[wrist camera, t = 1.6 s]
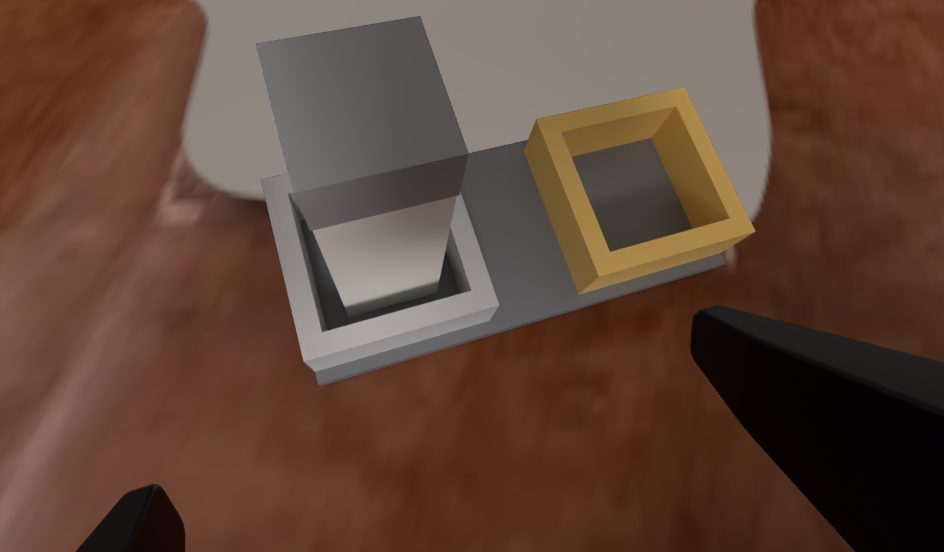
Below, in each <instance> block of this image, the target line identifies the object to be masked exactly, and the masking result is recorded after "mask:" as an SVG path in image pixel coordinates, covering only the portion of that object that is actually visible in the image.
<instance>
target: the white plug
mask: <svg viewBox="0 0 944 552" xmlns="http://www.w3.org/2000/svg"><path fill="white" fill-rule="evenodd" d="M256 46H257V50H258V54H259V58H260V62H261V66H262V70H263V74H264V78H265V81H266V85H267V90H268V94H269V98H270V102H271V105H272V110H273V113H274V117H275V121H276V125H277V129H278V133H279V137H280V141H281V145H282V149H283V153H284V157H285V161H286V165H287V169H288V173H289V177H290V181H291V185H292V189H293V193H294V195H295V198H296V200H297V202H298V205H299V207H300V209H301V212H302V214H303V216H304V218H305V221H306V223H307V225H308V228H309V230H310V231H313V233H314V236H315V238H316V240H317V243H318V245H319V247H320V250H321V252H322V255H323V257H324V259H325V262H326V264H327V266H328V269H329V271H330V274H331V276H332V278H333V281H334V283H335V285H336V288H337V290H338V293H339V295H340V297H341V300H342V302H343V304H344V307H345V309H346V312H347V314H348V316H349V317H351V316H355V315H359V314H362V313H366V312H370V311H373V310H377V309H380V308H384V307H388V306H391V305H395V304H399V303H402V302H406V301H409V300H413V299H417V298H420V297H424V296H427V295H431V294H435V293H437V289H438V284H439V279H440V275H441V270H442V265H443V260H444V255H445V250H446V245H447V240H448V236H449V231H450V226H451V221H452V216H453V211H454V206H455V201H456V197H457V196H458V195H460V191H461V186H462V182H463V177H464V172H465V168H466V163H467V159H468V154H469V153H468V151H467V148H466V145H465V142H464V139H463V136H462V134H461V131H460V128H459V125H458V122H457V119H456V117H455V114H454V111H453V108H452V105H451V103H450V100H449V97H448V94H447V92H446V88H445V85H444V83H443V80H442V77H441V74H440V71H439V69H438V66H437V63H436V60H435V57H434V55H433V52H432V49H431V46H430V43H429V40H428V38H427V35H426V32H425V29H424V26H423V23H422V20H421V18H420V16H418V17H412V18H406V19H400V20H394V21H388V22H382V23H376V24H370V25H364V26H358V27H352V28H346V29H341V30H334V31H329V32H322V33H317V34H311V35H305V36H299V37H293V38H287V39H281V40H275V41H269V42H263V43H257V44H256Z"/></svg>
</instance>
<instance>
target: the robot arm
mask: <svg viewBox="0 0 944 552" xmlns="http://www.w3.org/2000/svg"><path fill="white" fill-rule="evenodd" d="M690 349H691V354H692V357H693V359H694V361H695V362H696V364H697V365H698V366H699V368H700V369H701V370H702V372H703V373H704V374H705V376H706V377H707V379H708V380H709V381H710V383H711V384H712V385H713V387H714V388H715V389H716V391H717V392H718V394H719V395H720V396H721V398H722V399H723V400H724V402H725V403H726V404H727V406H728V407H729V409H730V410H731V411H732V413H733V414H734V415H735V417H736V418H737V419H738V421H739V422H740V423H741V424H742V426H743V427H744V428H745V429H746V430H747V432H748V433H749V434H750V435H751V436H752V438H753V439H754V440H755V441H756V442H757V443H758V444H759V445H760V446H761V448H762V449H763V450H764V451H765V452H766V453H767V454H768V455H769V456H770V458H771V459H772V460H773V461H774V462H775V463H776V464H777V465H778V466H779V468H780V469H781V470H782V471H783V472H784V473H785V474H786V475H787V477H788V478H789V479H790V480H791V481H792V482H793V483H794V484H795V485H796V487H797V488H798V489H799V490H800V491H801V492H802V493H803V494H804V495H805V497H806V498H807V499H808V500H809V501H810V502H811V503H812V504H813V505H814V507H815V508H816V509H817V510H818V511H819V512H820V513H821V514H822V515H823V517H824V518H825V519H826V520H827V521H828V522H829V523H830V524H831V525H832V527H833V528H834V529H835V530H836V531H837V532H838V533H839V534H840V535H841V537H842V538H843V539H844V540H845V541H846V542H847V543H848V544H849V545H850V547H851V548H852V549H853V550H854V551H855V552H944V363H943V362H939V361H935V360H931V359H928V358H924V357H920V356H916V355H912V354H908V353H904V352H900V351H896V350H892V349H888V348H884V347H881V346H877V345H873V344H869V343H865V342H861V341H857V340H853V339H849V338H845V337H841V336H837V335H834V334H830V333H826V332H822V331H818V330H814V329H810V328H806V327H802V326H798V325H795V324H791V323H787V322H783V321H779V320H775V319H771V318H767V317H763V316H759V315H755V314H752V313H748V312H744V311H740V310H736V309H732V308H728V307H724V306H720V305H713V306H709V307H706V308H703V309H700V310H698V311H696V312H695V313H694V315H693V319H692V331H691V344H690ZM76 552H185V529H184V524H183V521H182V519H181V517H180V515H179V514H178V512H177V510H176V509H175V507H174V505H173V504H172V502H171V501H170V499H169V497H168V496H167V494H166V493H165V491H164V489H163V488H162V487H161V486H159V485H157V484H151V485H148V486H145V487H142V488H139V489H136V490H132V491H130V492H128V493H126V494H125V495H124V496H123V497H122V498H121V499H120V500H119V501H118V502H117V504H116V505H115V506H114V507H113V508H112V509H111V511H110V512H109V513H108V514H107V515H106V516H105V518H104V519H103V520H102V521H101V522H100V524H99V525H98V526H97V527H96V528H95V529H94V531H93V532H92V533H91V534H90V535H89V536H88V538H87V539H86V540H85V541H84V542H83V543H82V545H81V546H80V547H79V548H78V549H77V551H76Z"/></svg>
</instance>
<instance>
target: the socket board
mask: <svg viewBox="0 0 944 552" xmlns="http://www.w3.org/2000/svg"><path fill="white" fill-rule="evenodd" d="M261 182H262V186H263V191H264V195H265V199H266V204H267V208H268V212H269V216H270V221H271V225H272V229H273V233H274V238H275V242H276V246H277V250H278V255H279V259H280V263H281V267H282V272H283V276H284V280H285V284H286V289H287V293H288V297H289V301H290V306H291V310H292V314H293V318H294V323H295V327H296V331H297V335H298V340H299V344H300V348H301V352H302V357H303V361H304V362H305V363H306V364H307V365H308V366H309V367H310V368H312V369H313V370H314V371H315V372H316V377H317V381H318V385H320V386H323V385H327V384H330V383H333V382H337V381H340V380H344V379H347V378H350V377H354V376H357V375H360V374H364V373H367V372H370V371H374V370H377V369H380V368H384V367H387V366H390V365H394V364H397V363H400V362H404V361H407V360H410V359H414V358H417V357H420V356H424V355H427V354H431V353H434V352H437V351H441V350H444V349H447V348H451V347H454V346H457V345H461V344H464V343H467V342H471V341H474V340H477V339H481V338H484V337H487V336H491V335H494V334H497V333H501V332H504V331H507V330H511V329H514V328H518V327H521V326H524V325H528V324H531V323H534V322H538V321H541V320H544V319H548V318H551V317H554V316H558V315H561V314H564V313H568V312H571V311H574V310H578V309H581V308H584V307H588V306H591V305H594V304H598V303H601V302H605V301H608V300H611V299H615V298H618V297H621V296H625V295H628V294H631V293H635V292H638V291H641V290H645V289H648V288H651V287H655V286H658V285H661V284H665V283H668V282H671V281H675V280H678V279H681V278H685V277H688V276H692V275H695V274H698V273H702V272H705V271H708V270H712V269H715V268H718V267H720V266H722V265H724V264H725V263H726V262H725V260H724V258H723V256H722V254H721V253H722V252H723V251H725V250H727V249H728V248H730V247H731V246H733V245H735V244H736V243H738V242H739V241H741V240H743V239H744V238H746V237H747V236H749V235H751V234H752V233H754V232H756V231H755V229H754V227H753V225H752V223H751V221H750V219H749V217H748V215H747V213H746V211H745V209H744V207H743V205H742V203H741V201H740V199H739V197H738V195H737V193H736V191H735V189H734V187H733V185H732V182H731V181H730V178H729V176H728V174H727V172H726V170H725V168H724V166H723V164H722V162H721V160H720V158H719V156H718V154H717V152H716V150H715V148H714V146H713V144H712V142H711V140H710V138H709V136H708V134H707V131H706V129H705V127H704V125H703V123H702V121H701V119H700V117H699V115H698V113H697V111H696V109H695V107H694V105H693V103H692V101H691V99H690V97H689V95H688V93H687V91H686V89H685V87H683V88H678V89H674V90H669V91H665V92H660V93H655V94H651V95H646V96H642V97H637V98H632V99H628V100H623V101H619V102H614V103H609V104H605V105H600V106H596V107H591V108H587V109H582V110H577V111H573V112H568V113H563V114H559V115H554V116H550V117H545V118H540V119H536V122H535V124H534V127H533V129H532V131H531V134H530V137H529V139H528V140H526V141H521V142H517V143H513V144H509V145H504V146H500V147H495V148H490V149H486V150H482V151H477V152H473V153H469V154H468V159H467V163H466V168H465V172H464V177H463V182H462V186H461V191H460V195H458V196H457V197H456V201H455V206H454V211H453V216H452V221H451V226H450V231H449V236H448V240H447V245H446V250H445V255H444V260H443V265H442V270H441V275H440V279H439V284H438V289H437V293H435V294H431V295H427V296H424V297H420V298H417V299H413V300H409V301H406V302H402V303H399V304H395V305H391V306H388V307H384V308H380V309H377V310H373V311H370V312H366V313H362V314H359V315H355V316H351V317H349V316H348V314H347V312H346V309H345V307H344V304H343V302H342V300H341V297H340V295H339V293H338V290H337V288H336V285H335V283H334V281H333V278H332V276H331V274H330V271H329V269H328V266H327V264H326V262H325V259H324V257H323V255H322V252H321V250H320V247H319V245H318V243H317V240H316V238H315V236H314V233H313V231H310V230H309V228H308V225H307V223H306V221H305V218H304V216H303V214H302V212H301V209H300V207H299V205H298V202H297V200H296V198H295V195H294V193H293V189H292V185H291V181H290V177H289V173H287V174H283V175H278V176H273V177H269V178H264V179H261Z"/></svg>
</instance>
